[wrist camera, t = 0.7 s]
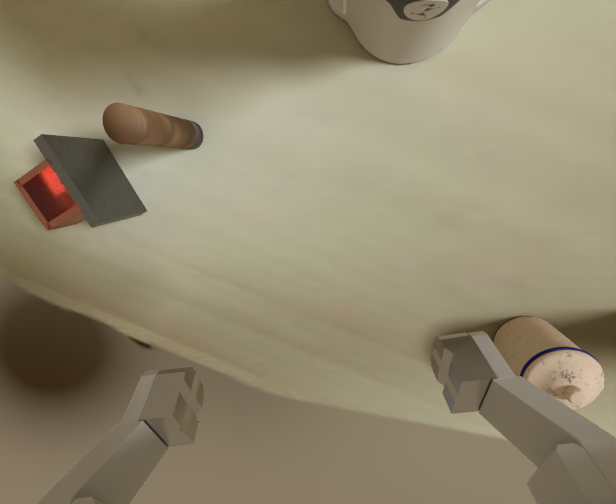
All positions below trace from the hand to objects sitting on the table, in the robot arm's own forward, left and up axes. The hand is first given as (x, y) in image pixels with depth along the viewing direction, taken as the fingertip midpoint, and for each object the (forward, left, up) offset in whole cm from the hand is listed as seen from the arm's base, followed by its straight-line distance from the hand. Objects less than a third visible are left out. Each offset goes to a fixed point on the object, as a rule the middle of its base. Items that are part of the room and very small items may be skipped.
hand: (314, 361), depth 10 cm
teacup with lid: (+20, +29, -35) cm, 50 cm away
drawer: (-2, -37, -35) cm, 51 cm away
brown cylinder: (-10, -22, -35) cm, 43 cm away
